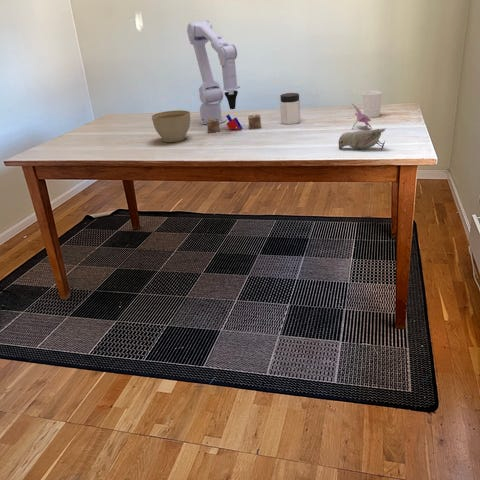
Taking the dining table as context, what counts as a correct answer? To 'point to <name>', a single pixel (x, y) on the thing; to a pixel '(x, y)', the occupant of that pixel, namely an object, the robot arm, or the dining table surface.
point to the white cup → (372, 103)
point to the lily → (361, 117)
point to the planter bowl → (172, 124)
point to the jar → (290, 108)
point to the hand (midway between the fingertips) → (232, 108)
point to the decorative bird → (361, 139)
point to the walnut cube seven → (213, 125)
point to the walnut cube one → (254, 122)
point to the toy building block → (233, 123)
